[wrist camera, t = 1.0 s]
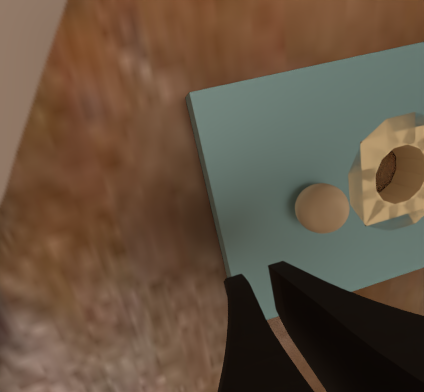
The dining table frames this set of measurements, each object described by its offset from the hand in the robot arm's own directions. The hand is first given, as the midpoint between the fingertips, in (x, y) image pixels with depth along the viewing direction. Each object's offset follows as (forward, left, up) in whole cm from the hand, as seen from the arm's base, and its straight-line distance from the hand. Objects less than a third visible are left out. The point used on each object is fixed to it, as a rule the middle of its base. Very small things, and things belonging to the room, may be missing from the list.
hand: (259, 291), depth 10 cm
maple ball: (-6, 0, -5) cm, 8 cm away
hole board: (-9, 0, -9) cm, 13 cm away
